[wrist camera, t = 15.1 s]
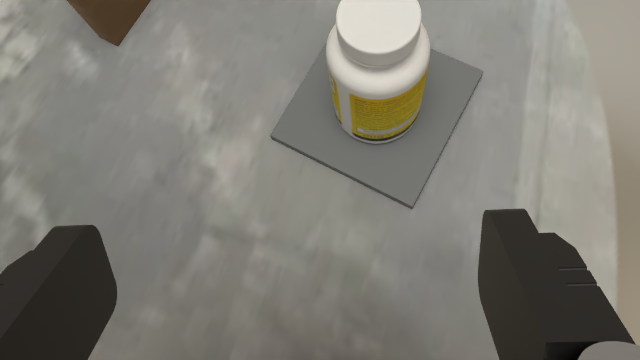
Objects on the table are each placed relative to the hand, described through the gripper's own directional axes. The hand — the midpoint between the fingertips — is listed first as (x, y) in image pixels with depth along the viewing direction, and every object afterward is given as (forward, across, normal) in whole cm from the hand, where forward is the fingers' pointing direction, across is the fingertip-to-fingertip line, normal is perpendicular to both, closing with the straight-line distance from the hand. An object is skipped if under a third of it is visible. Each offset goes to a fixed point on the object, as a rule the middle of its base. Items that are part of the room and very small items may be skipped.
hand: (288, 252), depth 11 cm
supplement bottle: (+23, -3, +6) cm, 24 cm away
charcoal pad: (+24, -3, +6) cm, 25 cm away
